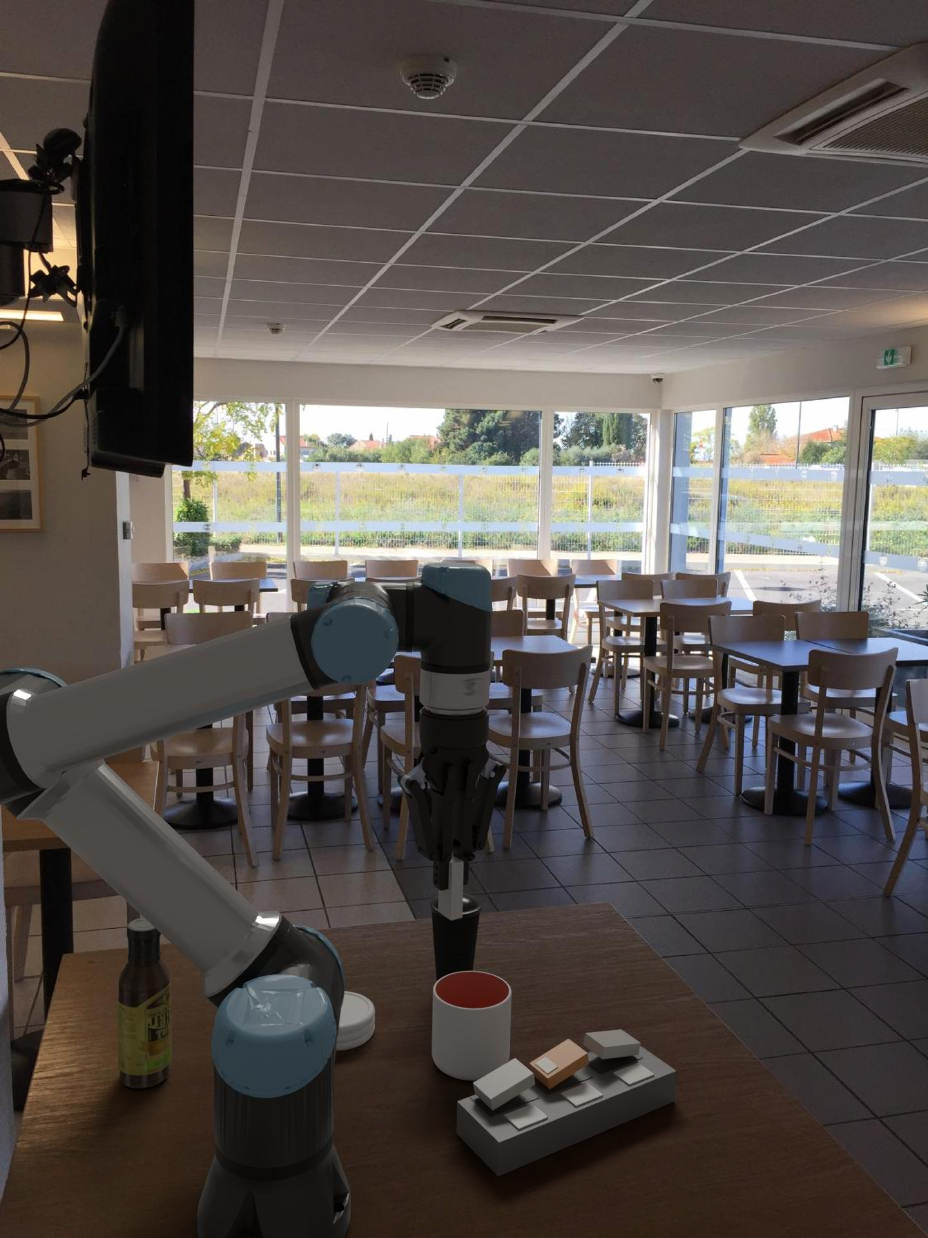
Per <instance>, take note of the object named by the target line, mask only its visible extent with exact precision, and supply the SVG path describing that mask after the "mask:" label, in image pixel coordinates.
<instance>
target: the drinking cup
mask: <svg viewBox="0 0 928 1238" xmlns="http://www.w3.org/2000/svg"><path fill="white" fill-rule="evenodd" d="M428 908H429V909H430V911H431V923H432V936H433V951H434V963H435V964H434V965H435V967H434V968H435V981H436V982H437V981H438V980H439V979H441V978H442V977H444V976H446V975H449V974H452V973H456V972H462V971H474V965H475V964H474V963H475V957H476V948H477V947H476V946H477V938H478V934H479V933H478V930H479V923H480V917H481V916H480V915H481V912H482V911H483V902H482V900H481V899H479V897H477V896H475V895H472V894H468V893H465V892H463V908H462V918H459V919H455V920H450V919H448V918H447V917H445V916H444V915H443V914H441V913H440V912H438V895H435V896H434V897H432V898H431V899H430V900H429V904H428ZM436 982H435V983H436Z"/></svg>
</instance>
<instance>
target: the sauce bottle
mask: <svg viewBox="0 0 928 1238" xmlns="http://www.w3.org/2000/svg"><path fill="white" fill-rule="evenodd" d="M161 935H162V934H161V933H160V932H159V931H158V930H157V929H156V928H155V927H154V926H153V925H152V924H150V923H149V922H148V921H147V920H146V919H145V918H144V917H140V918H136V919H133V920H132V921H130V922H129V923H128V924H127V927H126V937H127V941H128V952H127V953H128V954H127V963H126V964H125V966H124V968H123V969H122V970H121V972H120V976H119V978H118V996H117V1048H118V1049H117V1050H118V1051H117V1052H118V1053H117V1054H118V1055H117V1059H118V1060H117V1062H118V1063H117V1064H118V1069H119V1080H120V1082H121V1084H122V1085H123V1086H125V1087H128V1088H131V1089H144V1088H151V1087H154V1086H157V1085H158V1084H160V1083H161V1082H163V1081H165V1080H167V1078H168V1077H169V1075H170V1072H171V1071H170V1070H171V1064H170V1063H171V1061H172V981H171V973H170V971H169V969H168V967H167V965H166V964H165V963H164V961H163V960H162V958H161V956H162V955H161V954H162V952H161Z"/></svg>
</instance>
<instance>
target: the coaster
mask: <svg viewBox="0 0 928 1238" xmlns="http://www.w3.org/2000/svg"><path fill="white" fill-rule="evenodd" d="M344 992H345V993H344V1000H343V1004H342V1007H341V1015H340V1023H339V1031H338V1037H337V1046H336V1052H337V1051H338V1052H339V1051H346V1050H351V1049H354V1048H357V1047H359V1046H361V1045H363V1044H365V1043H366V1042H368V1041H369V1040H370V1039H371V1038H372V1036H373V1035H374V1032H375V1028H376V1026H375V1025H376V1024H375V1022H376V1016H375V1014H376V1009H375V1005H374V1003H373V1002H372V1001H371V1000H370V999H369V998H368V997H366V996H364V995H363V994H361V993H357V992H353V991H346V990H344Z"/></svg>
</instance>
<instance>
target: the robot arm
mask: <svg viewBox="0 0 928 1238" xmlns="http://www.w3.org/2000/svg"><path fill="white" fill-rule="evenodd" d="M419 579H420V580H418V581H417V580H415V581H413V582H411V581H407V582H401V581H400V582H397V581H395V582H394V581H367V580H366V581H364V580H363V581H362V580H360V581H359V580H346V579H338V580H330V581H329V580H327V581H326V580H325V581H324V580H323V581H315V582H314V583H312V584H311V585H310V587H308V592H307V597H306V609H303V610H302V611H299V612H297V613H294V614H290V615H287V616H283V617H280V618H277V619H273V620H271V621H268V622H265V623H261V624H258V625H256V626H252V627H248V628H245V629H243V630H238V631H235V632H233V633H229V634H226V635H222V636H220V637H217V638H214V639H210V640H207V641H204V642H202V643H197V644H194V645H191V646H187V647H186V648H182V649H179V650H176V651H172V652H169V653H166V654H162V655H160V656H157V657H152V658H151V659H147V660H145V661H141V662H140V661H139V662H137V663H134V664H131V665H128V666H125V667H122V668H119V669H115V670H113V671H109V672H105V673H103V674H99V675H97V676H93V677H90V678H87V679H84V680H81V681H77V682H73V683H71V684H67V683H66V682H65V681H64V680H63V679H61V678H60V677H58V676H56V675H55V674H52V673H50V672H48V671H45V670H41V669H37V668H32V667H17V668H10V669H3V670H0V806H1V805H2V806H3V808H4V809H6V810H7V811H8V812H9V813H10V814H11V815H12V816H13V817H14V818H15V819H17V820H18V821H28V820H29V821H34V820H35V821H41V822H42V823H43V824H44V825H46V827H47V828H49V829H50V830H51V831H52V832H53V833H54V834H55V835H56V836H57V837H58V838H59V839H60V840H61V841H63V843H64V844H66V845H67V846H68V848H69V849H71V850H72V851H73V852H75V854H76V855H77V856H78V857H80V859H82V861H84V863H86V864H87V865H88V866H89V867H90V868H91V869H92V870H93V871H94V872H96V874H97V875H98V876H100V877H101V878H102V879H103V881H105V882H106V883H107V884H108V885H109V886H110V887H112V889H113V890H114V891H115V892H116V893H118V894H119V895H120V896H121V897H122V898H123V899H124V900H125V901H126V902H127V903H128V905H130V906H132V908H134V910H135V911H136V912H138V913H139V914H140V915H141V916H142V918H145V919H146V920H147V921H148V922H149V923H150V924H152V925H153V926H154V927H155V928H156V929H157V930H158V931H159V932H160V933H161V935H162V936H163V937H164V938H165V939H167V941H169V943H171V945H173V946H174V947H175V948H176V949H177V950H178V951H179V952H180V953H181V954H182V955H183V956H184V957H185V958H186V959H187V960H188V961H189V962H191V964H192V965H194V966H195V967H196V968H197V969H198V970H199V971H200V972H201V976H202V983H201V984H202V990H201V991H202V995H203V996H204V997H206V999H208V1000H209V1002H211V1003H212V1005H214V1006H215V1008H216V1009H217V1011H216V1014H215V1016H214V1023H213V1029H212V1032H211V1039H210V1041H211V1043H210V1045H211V1046H210V1047H211V1054H212V1055H211V1056H212V1061H213V1107H214V1108H213V1109H214V1110H213V1112H214V1113H213V1116H214V1117H213V1118H214V1119H213V1120H214V1156H213V1159H212V1162H211V1165H210V1167H209V1171H208V1173H207V1175H206V1176H207V1177H206V1180H205V1182H204V1186H203V1188H202V1192H201V1195H200V1198H199V1200H198V1207H197V1217H196V1218H197V1219H196V1220H197V1238H345V1236H346V1234H347V1231H348V1230H349V1227H350V1223H351V1216H352V1215H351V1214H352V1213H351V1204H352V1203H351V1202H352V1201H351V1199H352V1197H351V1189H350V1186H349V1185H350V1184H349V1181H348V1180H347V1176H346V1174H345V1171H344V1169H343V1165H342V1163H341V1160H340V1156H339V1155H338V1151H337V1149H336V1146H335V1143H334V1115H335V1114H334V1112H335V1111H334V1110H335V1109H334V1107H335V1106H334V1104H335V1101H334V1099H335V1097H334V1094H335V1093H334V1091H335V1090H334V1089H335V1087H334V1086H335V1085H334V1083H335V1081H334V1080H335V1064H336V1062H335V1061H336V1053H337V1051H336V1046H337V1037H338V1031H339V1023H340V1015H341V1007H342V1004H343V1000H344V993H345V992H344V991H345V985H346V984H345V983H346V982H345V975H344V969H343V964H342V961H341V958H340V955H339V953H338V951H337V949H336V948H335V946H334V945H333V944H332V942H331V941H330V939H328V938H327V937H326V936H325V935H324V934H322V933H321V932H320V931H319V930H316V929H315V928H312V927H309V926H307V925H304V924H301V925H296V924H292V923H291V921H289V920H288V919H287V917H285V916H284V915H283V914H282V913H280V912H279V911H278V910H267V911H265V910H264V911H260V910H258V909H257V908H256V907H255V906H253V904H251V903H250V902H249V901H248V900H247V898H245V897H244V896H243V895H242V894H241V893H240V892H239V890H237V889H236V888H235V887H234V886H233V885H232V884H230V882H229V881H227V880H226V878H224V877H223V876H222V875H221V873H219V872H218V871H217V869H215V868H214V867H213V865H211V864H210V863H209V862H208V861H207V860H206V859H205V858H204V857H203V856H202V855H201V854H200V853H198V852H197V851H196V849H195V848H193V847H192V845H190V844H189V842H187V841H186V839H184V838H183V836H181V835H180V834H179V833H178V831H176V830H175V829H174V828H173V827H172V826H170V824H168V822H167V821H165V819H163V817H161V816H160V815H159V814H158V813H157V812H156V811H155V810H154V808H152V807H151V806H150V805H149V804H148V803H147V802H146V801H145V800H144V799H143V798H142V797H141V796H140V795H139V794H137V793H136V792H135V790H134V789H132V787H131V786H129V785H128V784H127V783H126V782H125V781H124V780H123V779H122V777H120V776H119V775H118V774H117V773H116V772H115V770H114V769H112V768H111V767H110V766H109V765H108V764H106V761H105V759H107V758H110V757H113V756H116V755H118V754H122V753H125V752H128V751H131V750H135V749H138V748H140V747H143V746H146V745H150V744H154V743H156V742H159V741H162V740H166V739H168V738H172V737H174V736H175V737H176V736H177V735H182V734H184V733H187V732H190V731H193V730H197V729H200V728H203V727H205V726H208V725H211V724H215V723H219V722H222V721H225V720H227V719H231V718H234V717H237V716H240V715H243V714H246V713H249V712H252V711H255V710H258V709H262V708H264V707H267V706H271V705H275V704H276V703H281V702H284V701H286V700H289V699H293V698H296V697H300V696H302V695H305V694H308V693H311V692H314V691H318V690H321V689H326V688H330V687H333V686H336V685H339V684H344V685H355V686H356V685H362V684H366V683H369V682H372V681H374V680H375V679H377V678H378V677H380V676H381V675H382V674H384V673H385V671H386V670H387V669H388V668H389V667H390V665H391V662H392V661H393V660H394V658H395V656H396V655H397V653H411V654H412V653H419V654H420V673H419V675H420V677H419V681H420V682H419V702H420V703H421V705H423V707H421V708H420V710H419V721H418V722H419V724H418V725H419V730H418V731H419V732H418V733H419V735H418V738H419V743H420V750H419V754H418V756H417V758H416V766H415V767H414V768H412V769H411V770H410V771H409V772H408V773H407V774H406V773H400V774H398V776H397V778H396V781H397V784H398V785H399V787H400V788H401V790H402V792H403V793H404V796H405V799H406V804H407V808H408V814H409V818H410V823H411V828H412V832H413V838H414V842H415V846H416V850H417V853H418V854H419V855H421V856H422V857H424V858H425V859H427V860H428V861H429V862H432V863H433V864H432V865H433V866H432V883H433V886H434V887H435V888H436V889H438V895H437V896H438V912H440V913H441V914H443V915H444V916H445V917H447V918H448V919H450V920H455V919H459V918H462V908H463V893H464V886H467V885H468V883H469V879H470V878H469V876H470V875H469V874H470V862H473V861H474V860H475V859H476V854H474V853H475V852H477V851H483V850H484V849H485V847H486V844H487V843H486V842H487V840H488V835H489V830H490V826H491V823H492V822H491V821H492V818H493V813H494V808H495V804H496V799H497V797H498V795H497V794H498V791H499V787H500V784H501V783H502V781H503V778H504V777H505V775H506V773H507V770H508V768H507V765H505V764H503V763H500V762H499V761H496V760H494V759H492V758H491V757H490V751H489V750H488V748H487V742H488V741H489V736H490V731H489V730H490V712H489V710H488V709H487V708H486V707H487V706H488V705H489V704H490V690H491V689H490V684H491V683H490V680H491V653H492V652H491V651H492V650H491V649H492V629H493V628H492V625H493V610H494V608H493V597H492V595H493V593H492V591H493V589H492V587H493V586H492V574H491V572H490V571H489V570H488V569H487V567H485V566H484V565H481V564H478V563H470V562H469V563H468V562H431V563H428V564H425V565H424V566H423V568H422V570H421V576H420V577H419ZM424 778H425V780H426V781H427V783H428V785H429V795H430V797H431V799H432V800H431V813H430V808H429V803H428V799H427V796H426V793H425V791H424V790H425V788H426V784H425V781H424Z"/></svg>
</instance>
